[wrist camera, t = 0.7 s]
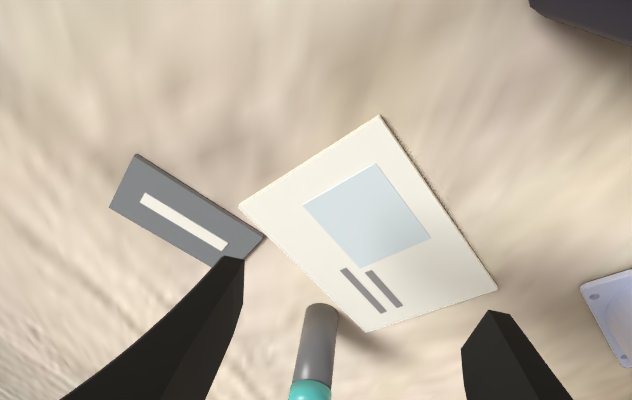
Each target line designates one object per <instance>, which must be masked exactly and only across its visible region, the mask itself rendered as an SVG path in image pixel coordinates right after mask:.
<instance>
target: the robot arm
mask: <svg viewBox="0 0 632 400" xmlns="http://www.w3.org/2000/svg"><path fill="white" fill-rule="evenodd" d="M244 264H245V260H244V259H239V258H235V257H230V256H225V255H224V256H223V257H221V258H220V259H219V260H218V261H217V263H216V264H215V265H214V266H213V267H212V268H211V269H210V271H209V272H208V273H207V274H206V275H205V276H204V277H203V278H202V279H201V280H200V281H199V282H198V284H197V285H196V286H195V287H194V288H193V289H192V290H191V291H190V292H189V293H188V294H187V295H186V296H185V297H184V298H183V299H182V300H181V301H180V302H179V303H178V304H177V305H176V306H175V307H174V308H173V309H172V310H171V311H170V312H168V313H167V314H166V315H165V316H164V317H163V318H162V319H161V320H160V321H159V322H157V323H156V324H155V325H154V326H153V327H152V328H151V329H150V330H149V331H147V332H146V333H145V334H144V335H143V336H142V337H141V338H140V339H138V340H137V341H136V342H135V343H134V344H132V345H131V346H130V347H129V348H128V349H126V350H125V351H124V352H123V353H122V354H120V355H119V356H118V357H117V358H115V359H114V360H113V361H111V362H110V363H109V364H108V365H106V366H105V367H104V368H102V369H101V370H100V371H99V372H97V373H96V374H94V375H93V376H92V377H90V378H89V379H88V380H86V381H85V382H84V383H82V384H81V385H79V386H78V387H77V388H75V389H74V390H73V391H71V392H70V393H69V394H67V395H66V396H64V397H63V398H61V399H60V400H205V399H206V396H207V394H208V392H209V389H210V387H211V385H212V383H213V380H214V378H215V376H216V373H217V371H218V369H219V367H220V364H221V362H222V360H223V357H224V355H225V353H226V351H227V348H228V346H229V344H230V341H231V339H232V337H233V334H234V331H235V328H236V324H237V321H238V318H239V315H240V312H241V309H242V305H243V291H244ZM580 292H581V294H582V295H583V297H584V299H585V301H586V303H587V305H588V306H589V308H590V310H591V312H592V314H593V316H594V318H595V319H596V321H597V323H598V325H599V327H600V329H601V331H602V332H603V334H604V336H605V338H606V340H607V342H608V343H609V345H610V347H611V349H612V351H613V353H614V355H615V356H616V358H617V360H618V362H619V364H620V365H621V366H622V367H625V368H631V367H632V269H629V270H626V271H623V272H620V273H616V274H613V275H610V276H606V277H603V278H600V279H597V280H593V281H590V282H587V283H584V284H583V285H581V286H580ZM461 357H462V370H463V380H464V387H465V392H466V397H467V400H573V398H572V397H571V396H570V395H569V393H568V392H567V391H566V389H565V388H564V387H563V385H562V384H561V383H560V381H559V380H558V379H557V378H556V376H555V375H554V374H553V372H552V371H551V369H550V368H549V367H548V365H547V364H546V363H545V361H544V360H543V359H542V357H541V356H540V355H539V353H538V352H537V351H536V349H535V348H534V346H533V345H532V344H531V342H530V341H529V340H528V338H527V337H526V335H525V334H524V333H523V331H522V330H521V329H520V327H519V326H518V325H517V323H516V322H515V321H514V319H513V318H512V317H511V315H510V314H506V313H502V312H497V311H492V310H488V311H487V312H486V314H485V315H484V317H483V318H482V320H481V321H480V322H479V324H478V325H477V327H476V328H475V330H474V331H473V332H472V334H471V335H470V337H469V338H468V340H467V341H466V343H465V344H464V345H463V347H462V348H461Z"/></svg>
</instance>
